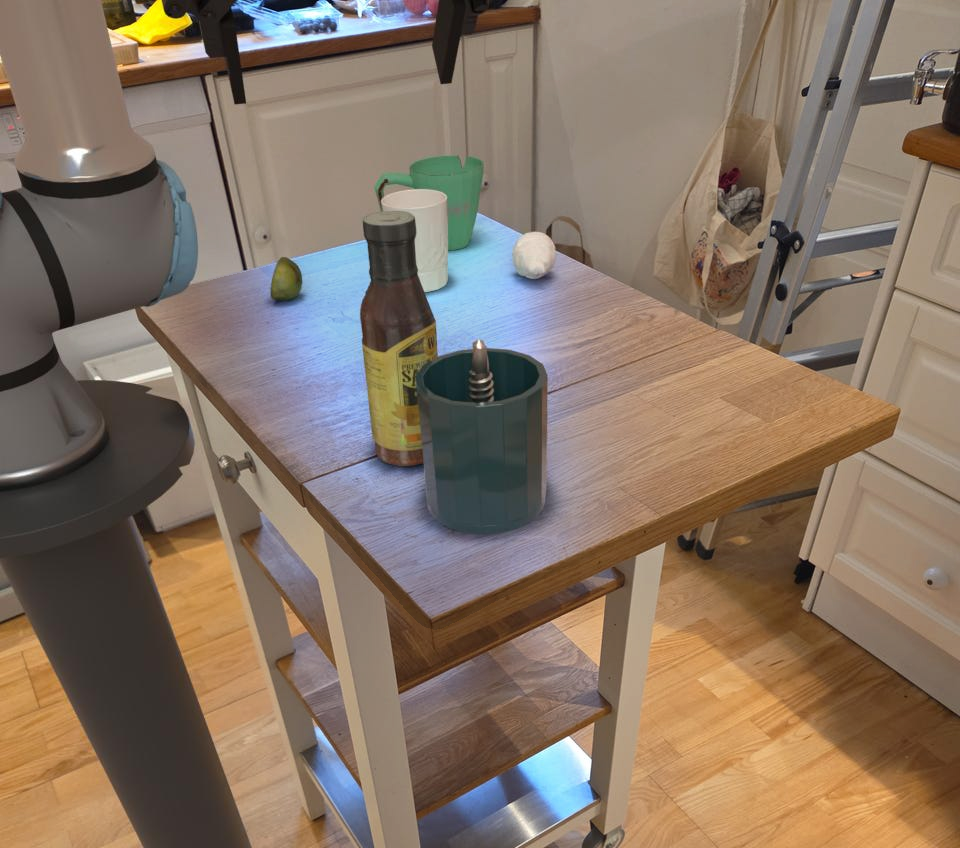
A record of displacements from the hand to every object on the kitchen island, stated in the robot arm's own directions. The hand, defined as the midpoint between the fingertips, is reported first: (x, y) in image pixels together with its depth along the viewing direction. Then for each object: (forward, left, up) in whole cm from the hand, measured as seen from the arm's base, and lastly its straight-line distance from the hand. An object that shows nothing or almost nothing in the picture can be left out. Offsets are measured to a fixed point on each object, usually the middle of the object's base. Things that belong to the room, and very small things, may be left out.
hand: (341, 74), depth 57 cm
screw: (+9, +5, -29) cm, 31 cm away
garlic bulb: (-31, +35, -30) cm, 55 cm away
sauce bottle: (-2, +3, -30) cm, 30 cm away
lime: (-44, +7, -30) cm, 54 cm away
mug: (-51, +31, -30) cm, 67 cm away
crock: (+9, +5, -30) cm, 31 cm away
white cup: (-39, +23, -30) cm, 54 cm away
